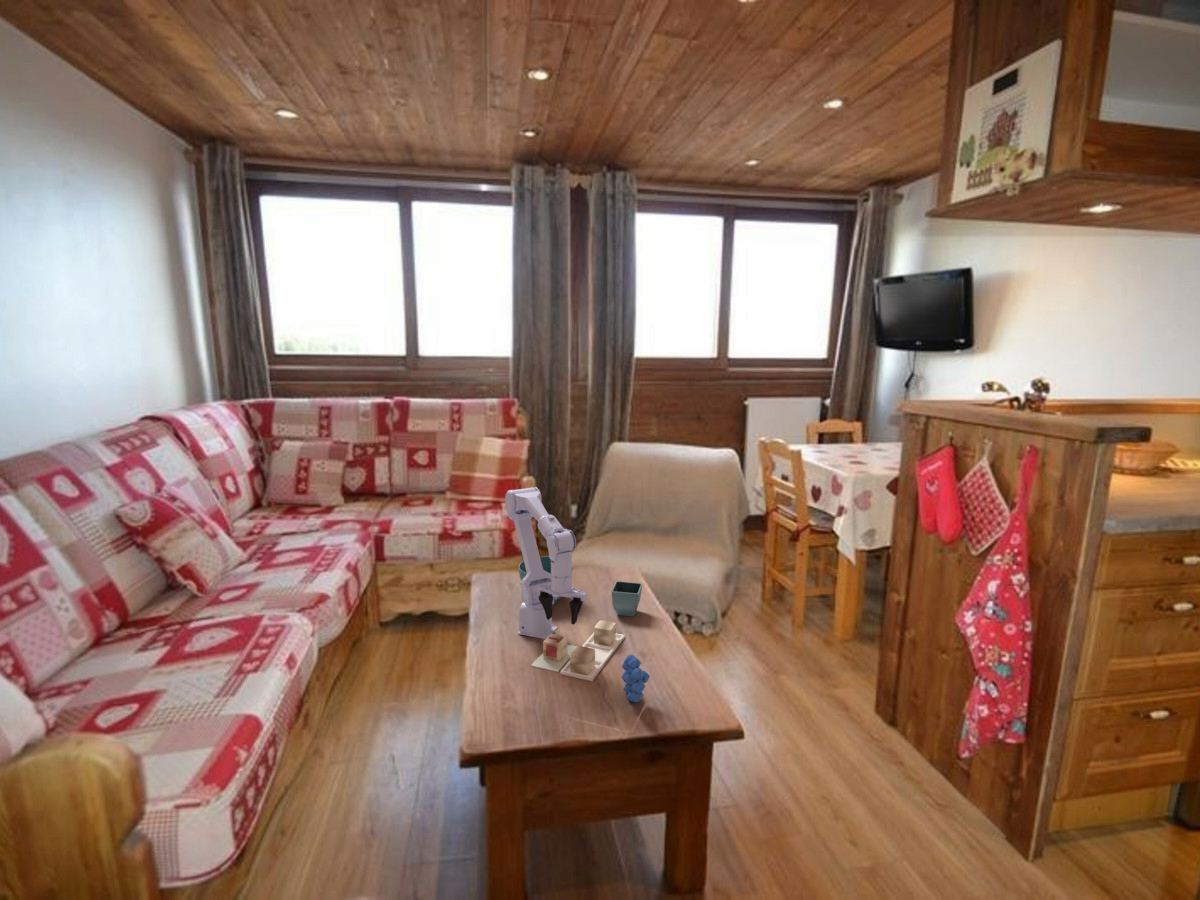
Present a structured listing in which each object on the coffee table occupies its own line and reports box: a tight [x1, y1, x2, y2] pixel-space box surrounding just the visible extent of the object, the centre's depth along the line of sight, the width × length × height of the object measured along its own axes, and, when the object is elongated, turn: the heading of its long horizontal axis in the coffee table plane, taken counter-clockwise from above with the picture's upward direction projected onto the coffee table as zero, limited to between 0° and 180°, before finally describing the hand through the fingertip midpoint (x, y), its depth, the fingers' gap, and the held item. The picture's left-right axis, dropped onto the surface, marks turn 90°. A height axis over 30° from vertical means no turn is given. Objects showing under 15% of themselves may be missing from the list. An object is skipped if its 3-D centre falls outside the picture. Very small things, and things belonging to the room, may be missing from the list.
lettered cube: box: [542, 633, 569, 662], centre depth 164 cm, size 5×5×5 cm
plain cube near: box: [569, 645, 595, 676], centre depth 158 cm, size 5×5×5 cm
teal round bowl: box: [518, 555, 574, 604], centre depth 202 cm, size 18×18×12 cm
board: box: [530, 644, 578, 673], centre depth 165 cm, size 8×14×1 cm, turn 158°
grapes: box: [621, 653, 651, 703], centre depth 144 cm, size 12×7×12 cm, turn 14°
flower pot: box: [611, 580, 643, 617], centre depth 192 cm, size 9×9×9 cm
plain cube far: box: [593, 619, 617, 647], centre depth 173 cm, size 5×5×5 cm
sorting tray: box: [559, 632, 626, 682], centre depth 166 cm, size 9×25×1 cm, turn 158°
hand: (561, 620), depth 167 cm, fingers open, 7 cm apart
